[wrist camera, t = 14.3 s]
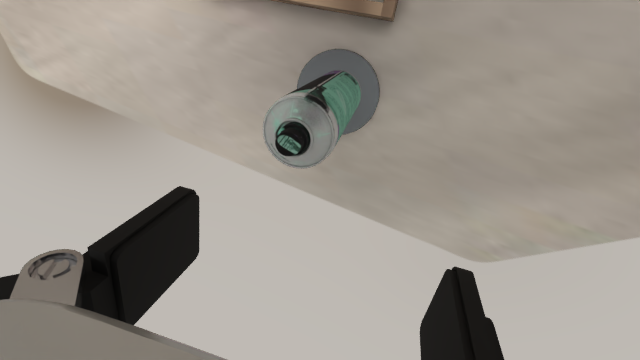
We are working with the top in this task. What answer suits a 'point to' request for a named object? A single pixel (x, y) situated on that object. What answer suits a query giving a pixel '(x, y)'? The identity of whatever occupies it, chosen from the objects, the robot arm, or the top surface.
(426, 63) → the top surface
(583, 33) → the top surface
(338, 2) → the wooden box
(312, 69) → the mat
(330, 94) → the spray can
